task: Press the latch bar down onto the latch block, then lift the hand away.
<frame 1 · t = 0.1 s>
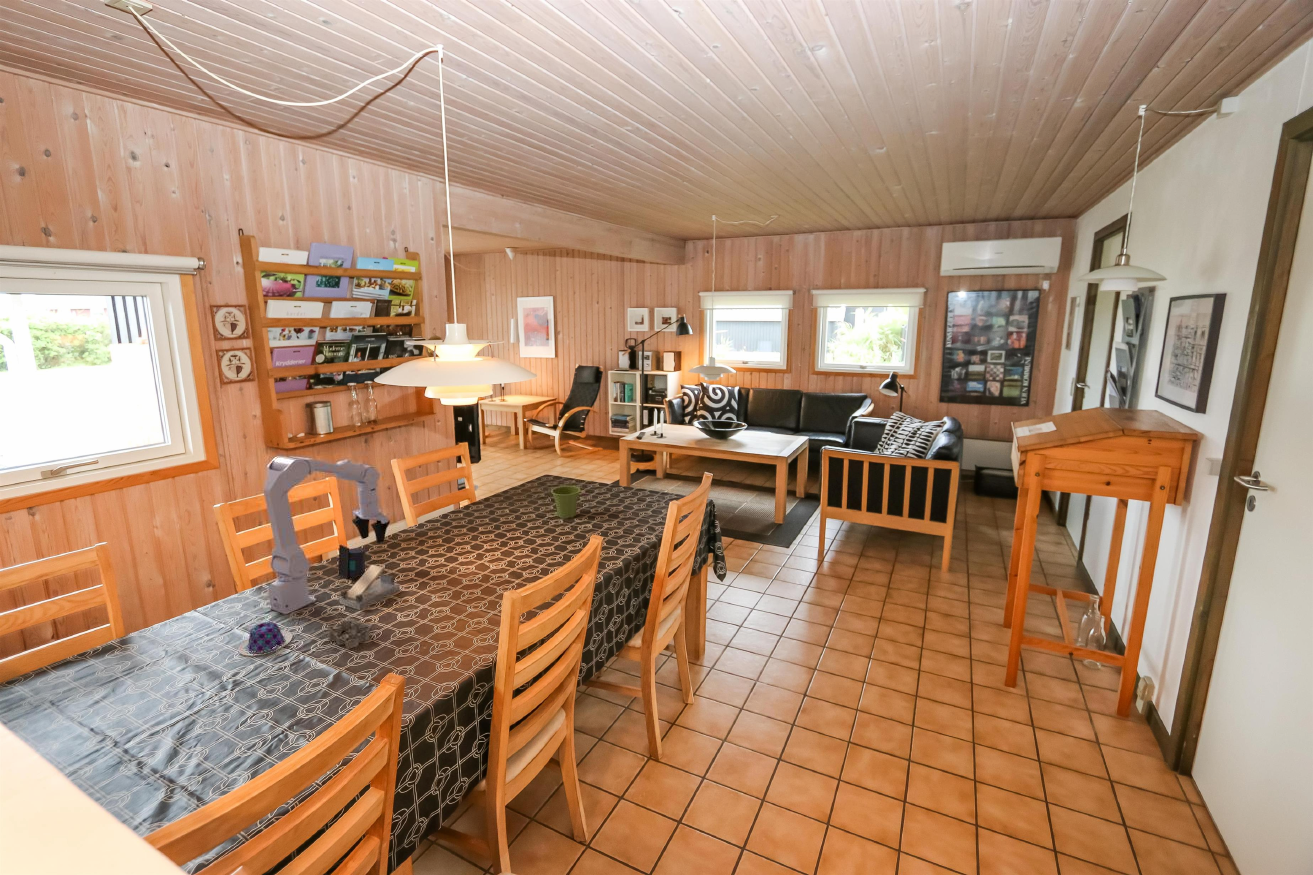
hand: (372, 539, 201), 10 cm above the table, tool pointing down, fingers open, 7 cm apart
speaker: (354, 574, 199), on the table
latch block: (370, 596, 184), on the table
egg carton: (350, 639, 161), on the table
purple beige domed disc: (266, 645, 159), on the table
latch bar: (365, 582, 181), point 5 cm above the table, hinge at 30.0°
plant pot: (566, 516, 252), on the table
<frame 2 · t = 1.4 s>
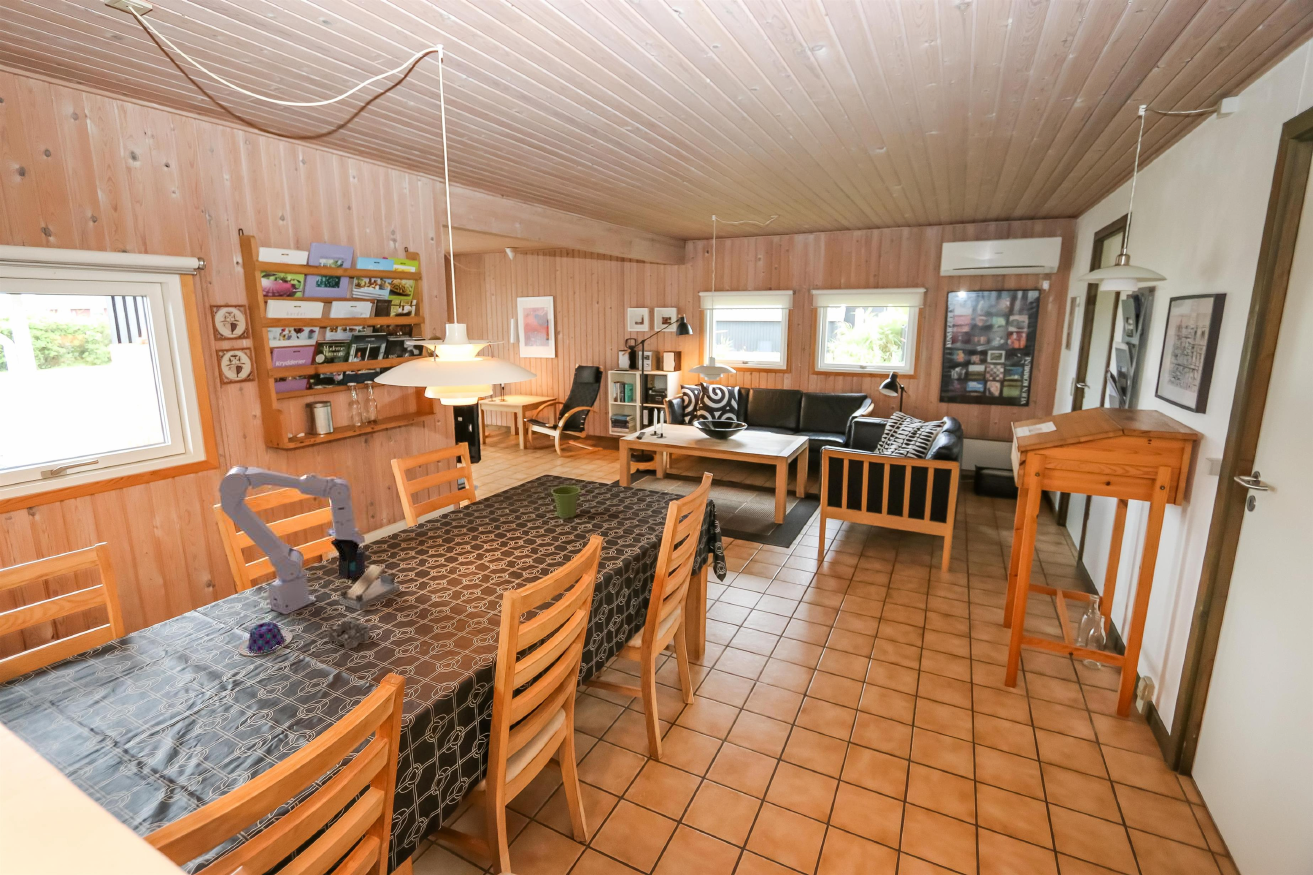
hand: (349, 561, 184), 10 cm above the table, tool pointing down, fingers closed
nothing on the table moved.
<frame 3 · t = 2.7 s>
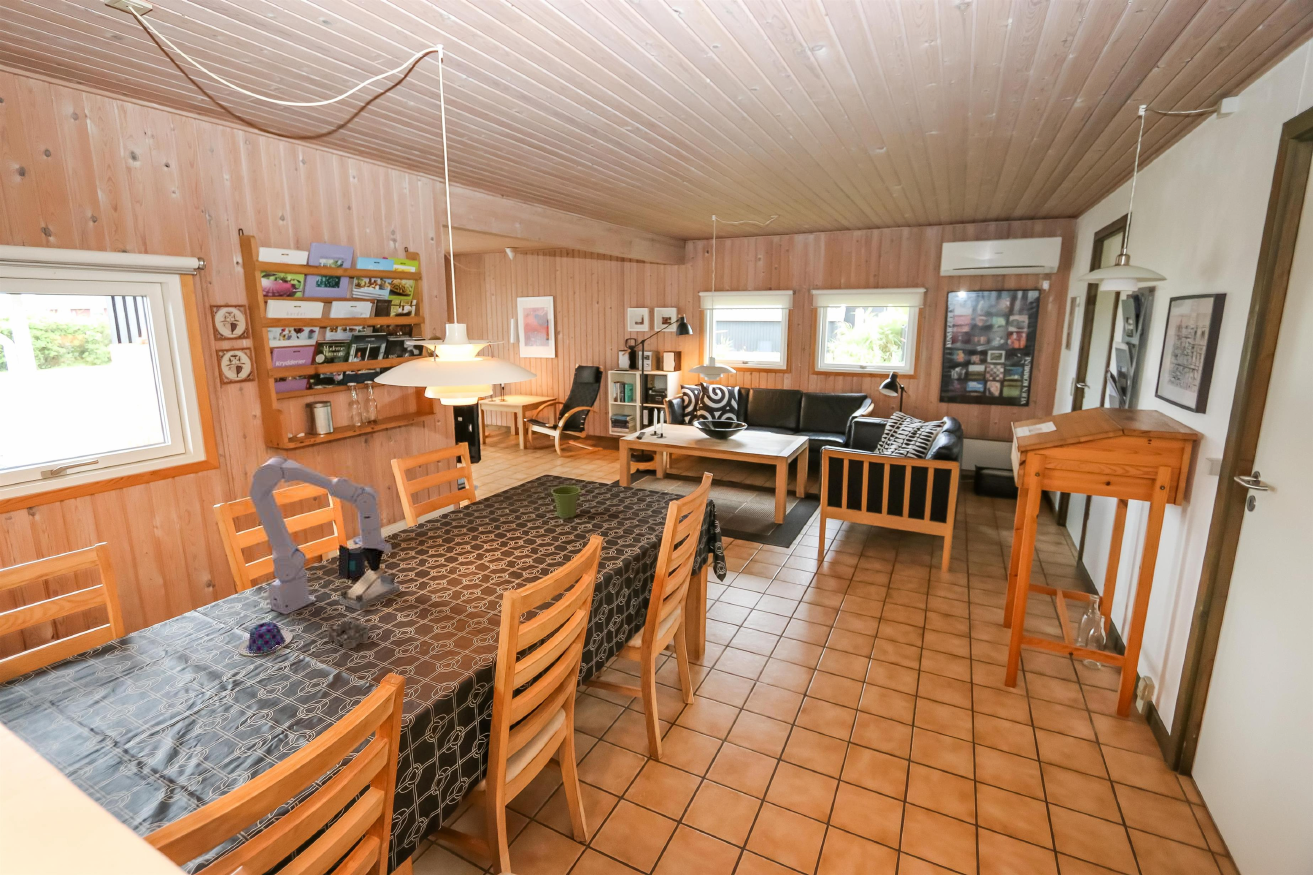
hand: (375, 569, 184), 8 cm above the table, tool pointing down, fingers closed, pressing on latch bar
latch bar: (365, 582, 182), point 5 cm above the table, hinge at 27.3°, touching gripper
everything else where it was.
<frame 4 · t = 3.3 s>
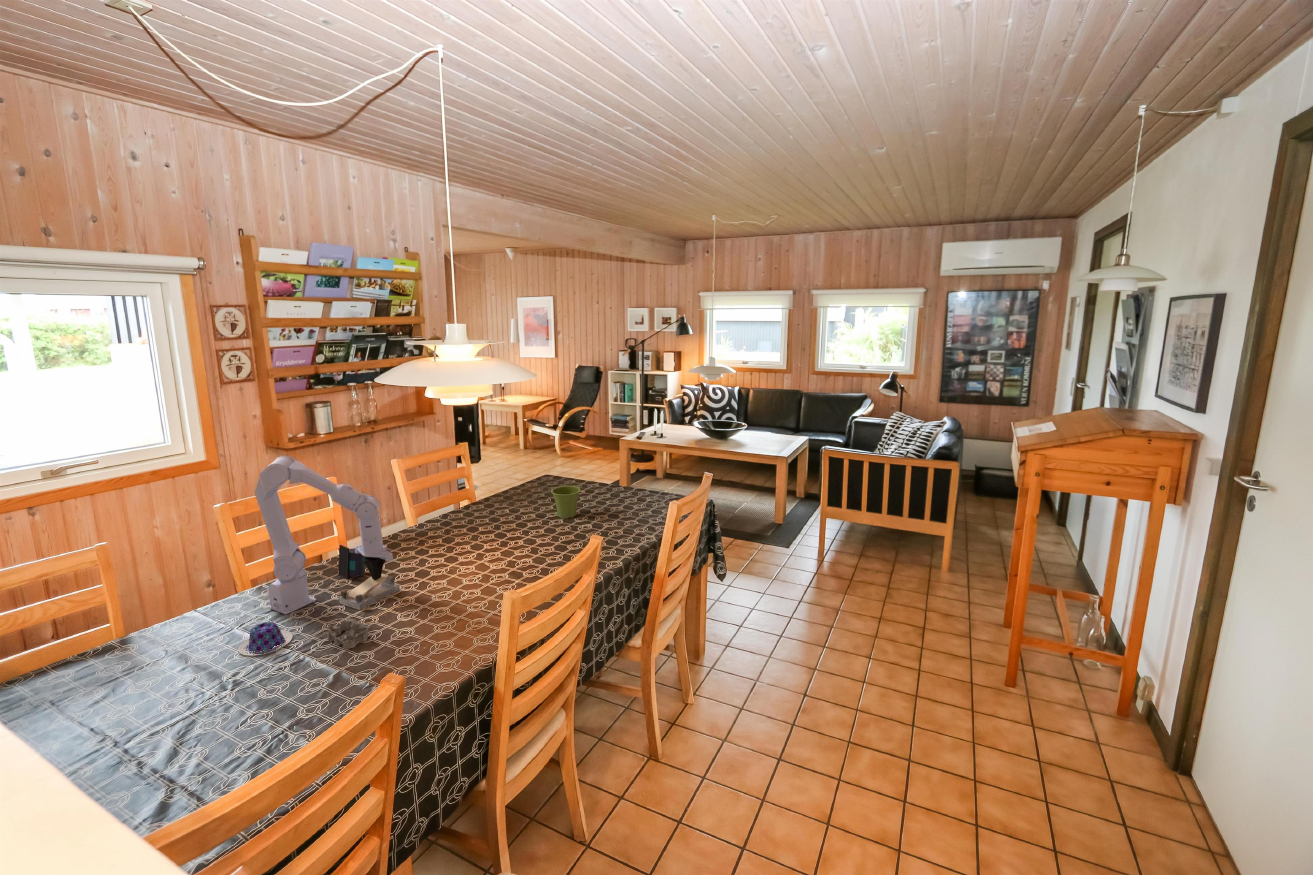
hand: (376, 578, 185), 5 cm above the table, tool pointing down, fingers closed, pressing on latch bar
latch bar: (367, 585, 182), point 4 cm above the table, hinge at 12.3°, touching gripper
everything else where it was.
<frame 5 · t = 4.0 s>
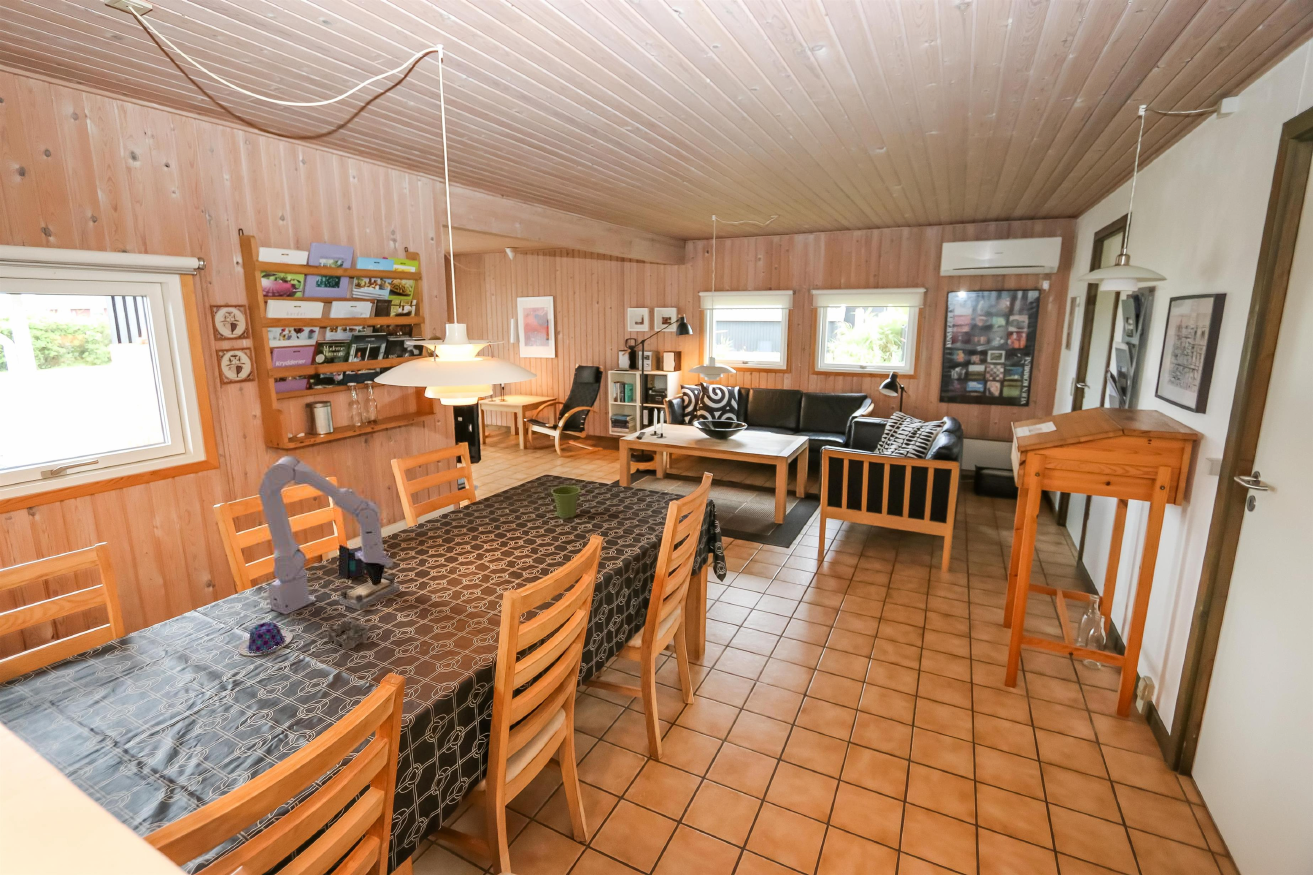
hand: (376, 583, 185), 3 cm above the table, tool pointing down, fingers closed, pressing on latch bar
latch bar: (368, 588, 183), point 3 cm above the table, hinge at 1.9°, touching gripper
everything else where it was.
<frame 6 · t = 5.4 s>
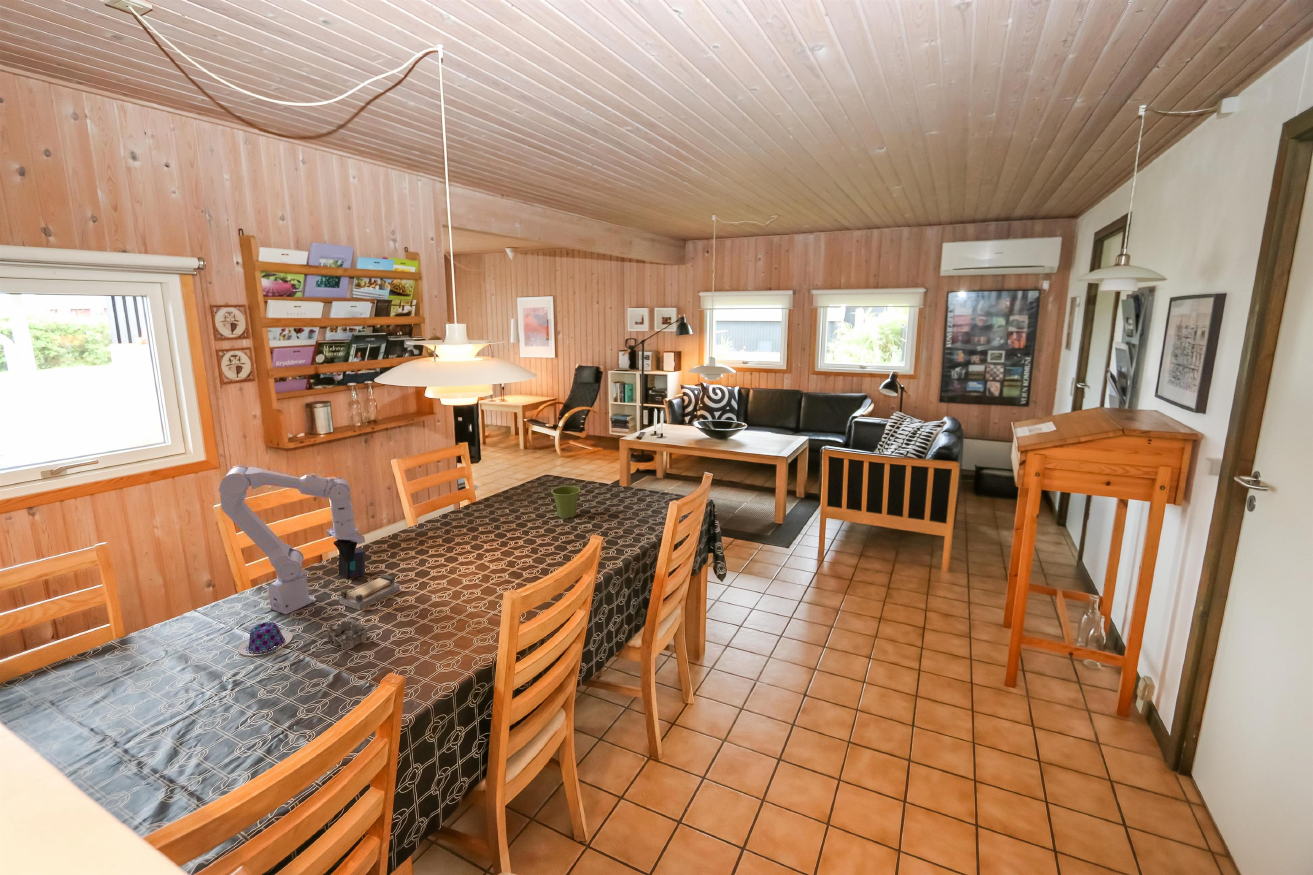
hand: (349, 561, 184), 10 cm above the table, tool pointing down, fingers closed
latch bar: (368, 588, 183), point 3 cm above the table, hinge at 1.8°
everything else where it was.
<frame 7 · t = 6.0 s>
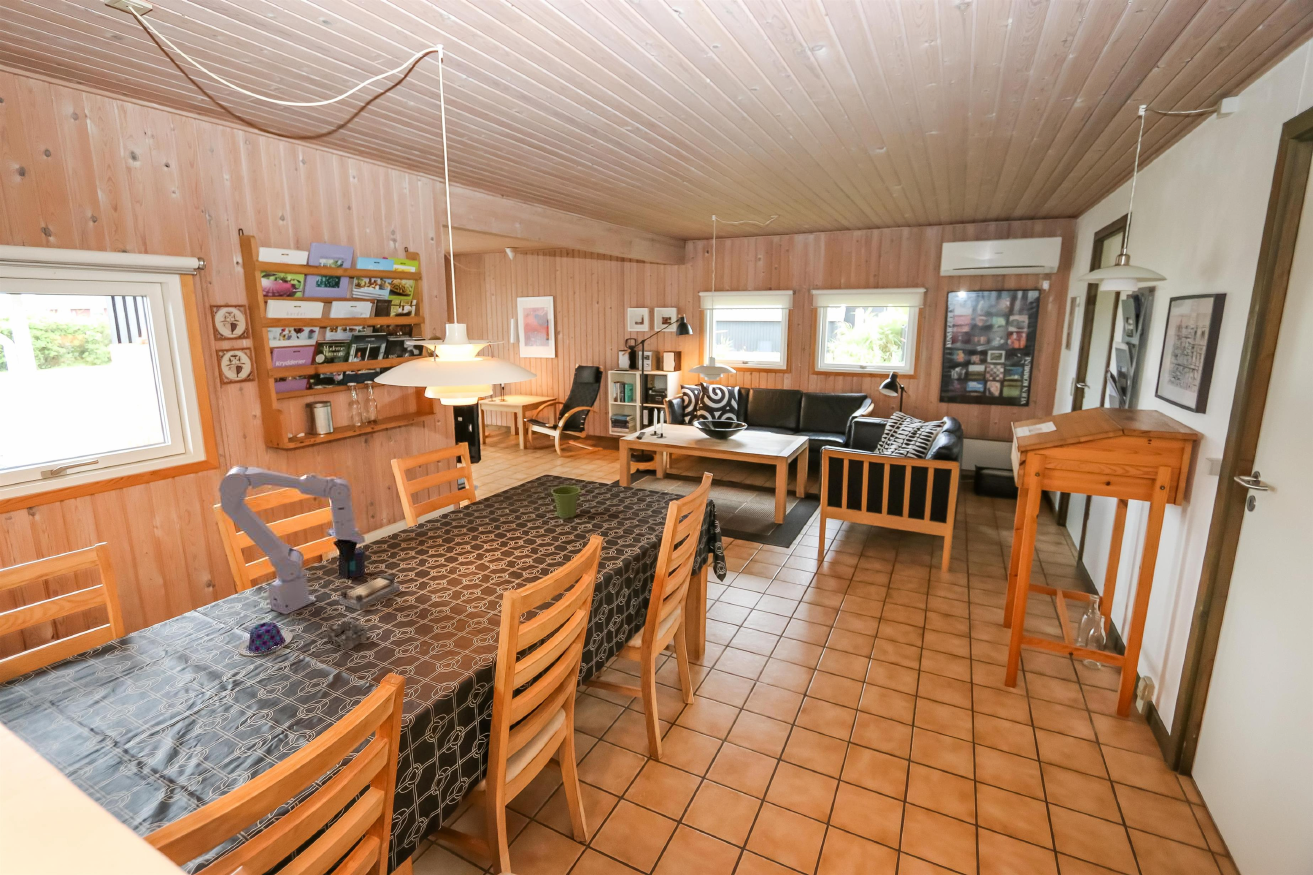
hand: (349, 561, 184), 10 cm above the table, tool pointing down, fingers closed
nothing on the table moved.
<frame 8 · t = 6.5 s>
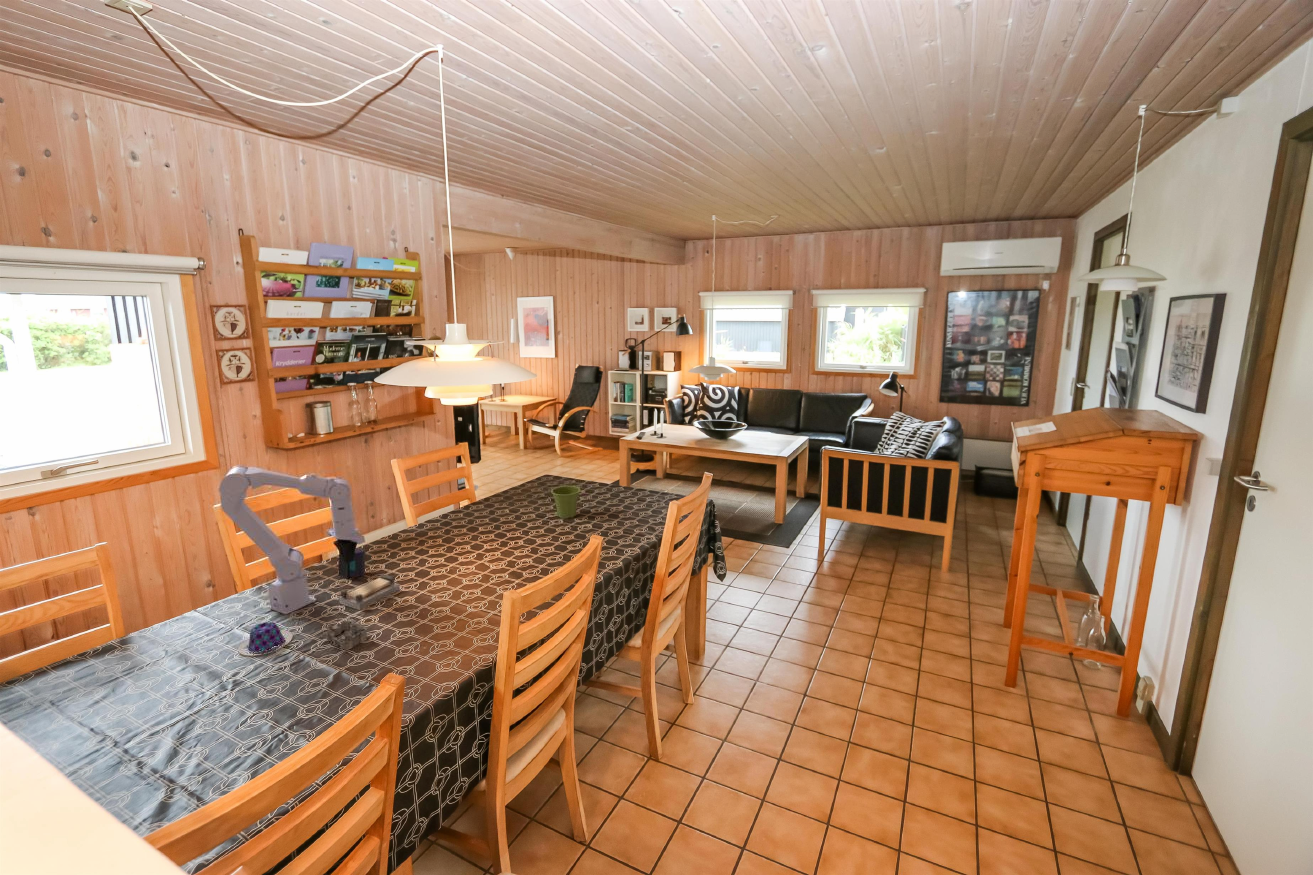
hand: (349, 561, 184), 10 cm above the table, tool pointing down, fingers closed
nothing on the table moved.
at the end: latch bar at +2° (first picture: +30°); speaker moved 0.2 cm from its start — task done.
